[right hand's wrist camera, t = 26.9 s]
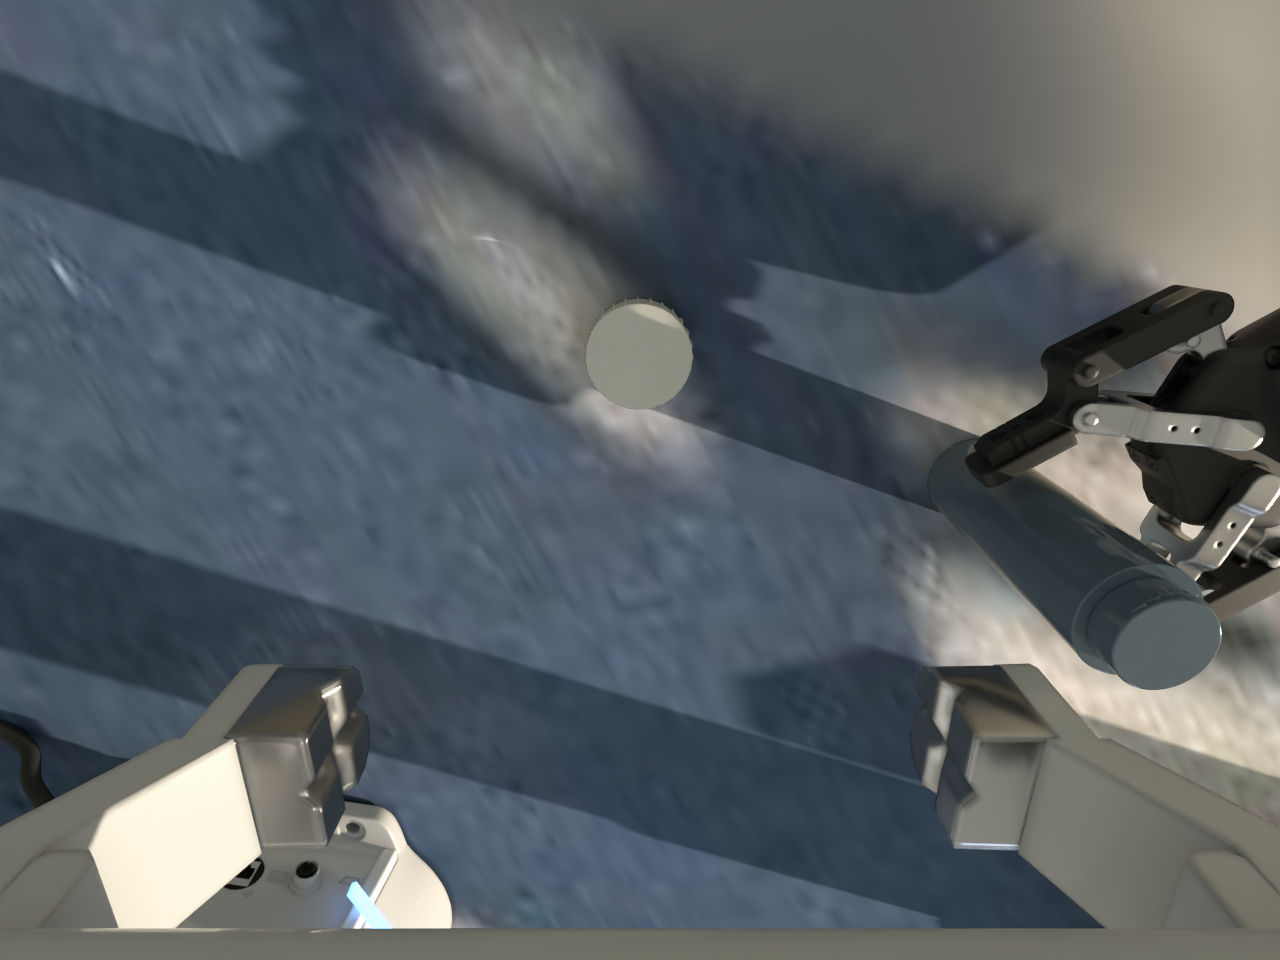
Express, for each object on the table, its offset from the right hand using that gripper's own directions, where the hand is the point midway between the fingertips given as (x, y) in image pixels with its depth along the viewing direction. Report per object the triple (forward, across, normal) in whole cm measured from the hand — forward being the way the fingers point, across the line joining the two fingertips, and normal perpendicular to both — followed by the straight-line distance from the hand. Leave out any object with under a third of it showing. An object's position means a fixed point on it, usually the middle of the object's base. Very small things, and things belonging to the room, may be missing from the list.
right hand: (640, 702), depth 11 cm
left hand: (+20, +16, -8) cm, 27 cm away
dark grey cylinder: (+26, +17, -7) cm, 32 cm away
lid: (+25, 0, 0) cm, 25 cm away
